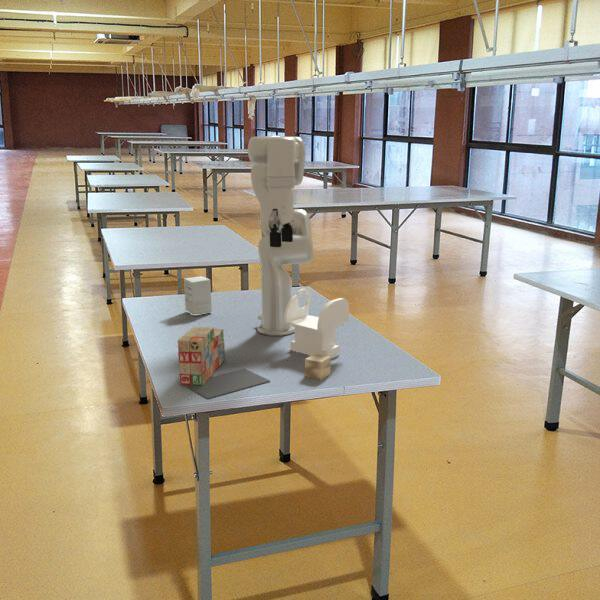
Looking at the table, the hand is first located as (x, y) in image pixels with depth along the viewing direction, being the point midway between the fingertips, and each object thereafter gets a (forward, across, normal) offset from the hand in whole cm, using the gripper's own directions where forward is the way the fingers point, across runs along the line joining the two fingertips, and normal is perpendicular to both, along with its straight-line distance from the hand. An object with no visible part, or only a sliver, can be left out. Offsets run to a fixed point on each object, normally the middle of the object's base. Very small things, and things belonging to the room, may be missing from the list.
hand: (281, 244), depth 194 cm
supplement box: (+32, -34, -44) cm, 64 cm away
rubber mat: (+33, +26, -6) cm, 43 cm away
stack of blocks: (+33, +21, -16) cm, 42 cm away
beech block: (+33, +13, +15) cm, 39 cm away
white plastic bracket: (+33, -5, +9) cm, 35 cm away
